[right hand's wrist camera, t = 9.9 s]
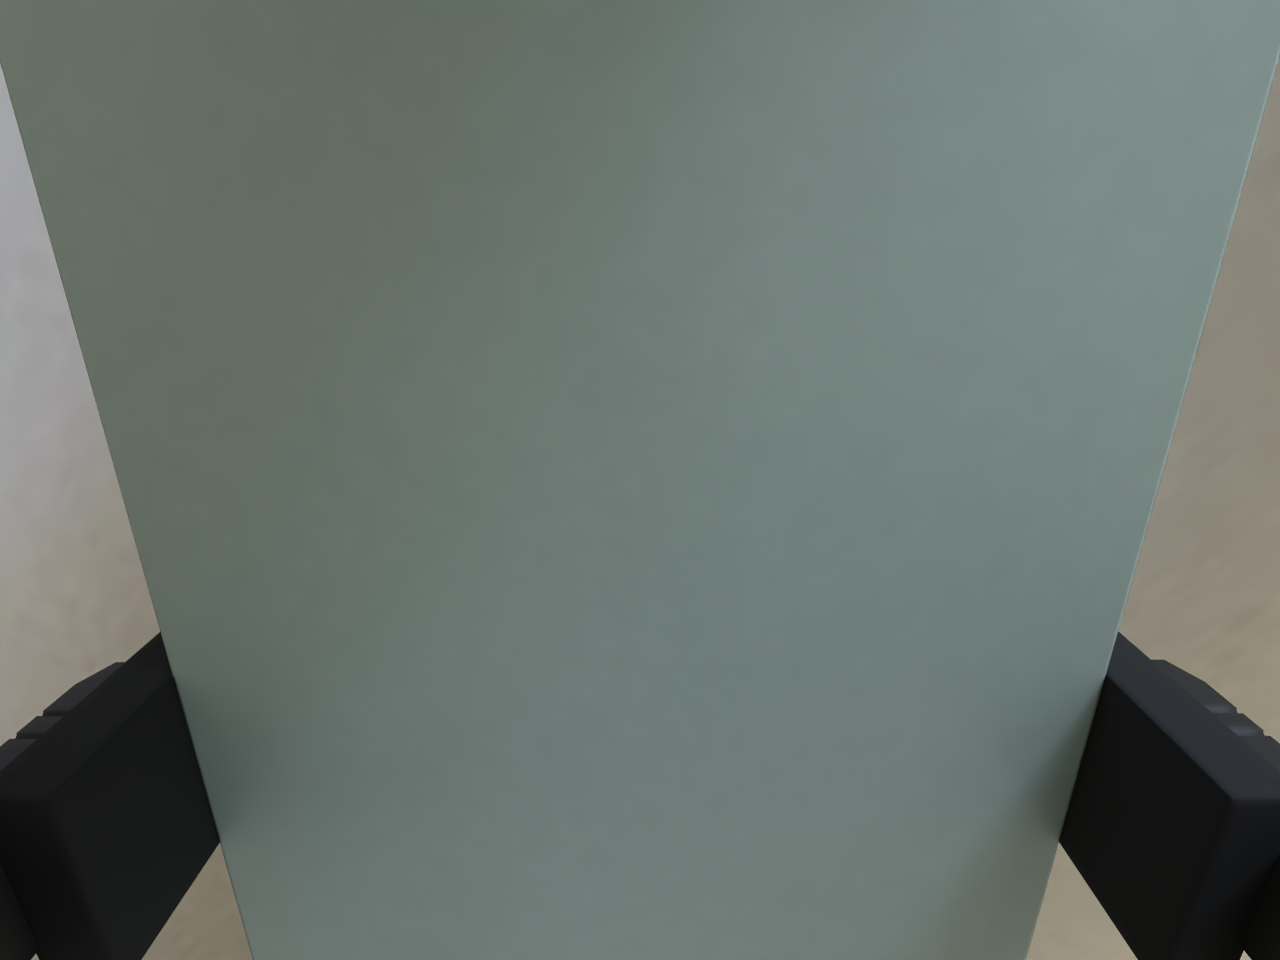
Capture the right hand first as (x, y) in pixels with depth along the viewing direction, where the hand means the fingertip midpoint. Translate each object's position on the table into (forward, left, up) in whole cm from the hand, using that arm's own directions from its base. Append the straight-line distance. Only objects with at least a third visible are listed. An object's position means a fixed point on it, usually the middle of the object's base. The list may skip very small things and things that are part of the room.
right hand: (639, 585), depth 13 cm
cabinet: (+2, +3, -6) cm, 7 cm away
